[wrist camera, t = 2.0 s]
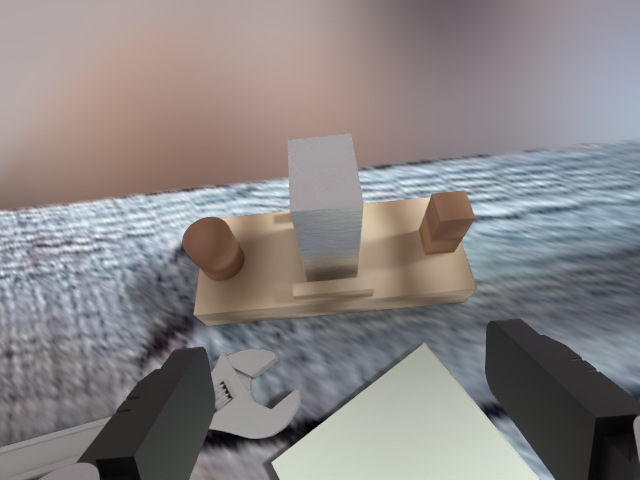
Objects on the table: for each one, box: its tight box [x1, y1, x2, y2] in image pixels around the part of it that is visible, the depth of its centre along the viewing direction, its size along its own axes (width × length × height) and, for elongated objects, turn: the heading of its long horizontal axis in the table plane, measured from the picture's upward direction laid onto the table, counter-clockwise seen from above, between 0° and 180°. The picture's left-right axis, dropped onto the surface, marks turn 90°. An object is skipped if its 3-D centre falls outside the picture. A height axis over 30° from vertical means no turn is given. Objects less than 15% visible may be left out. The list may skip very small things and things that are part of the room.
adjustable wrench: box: [0, 349, 301, 480], centre depth 25 cm, size 25×6×2 cm, turn 101°
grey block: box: [288, 134, 364, 282], centre depth 24 cm, size 4×6×10 cm
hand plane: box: [182, 191, 477, 326], centre depth 27 cm, size 22×9×8 cm, turn 94°
